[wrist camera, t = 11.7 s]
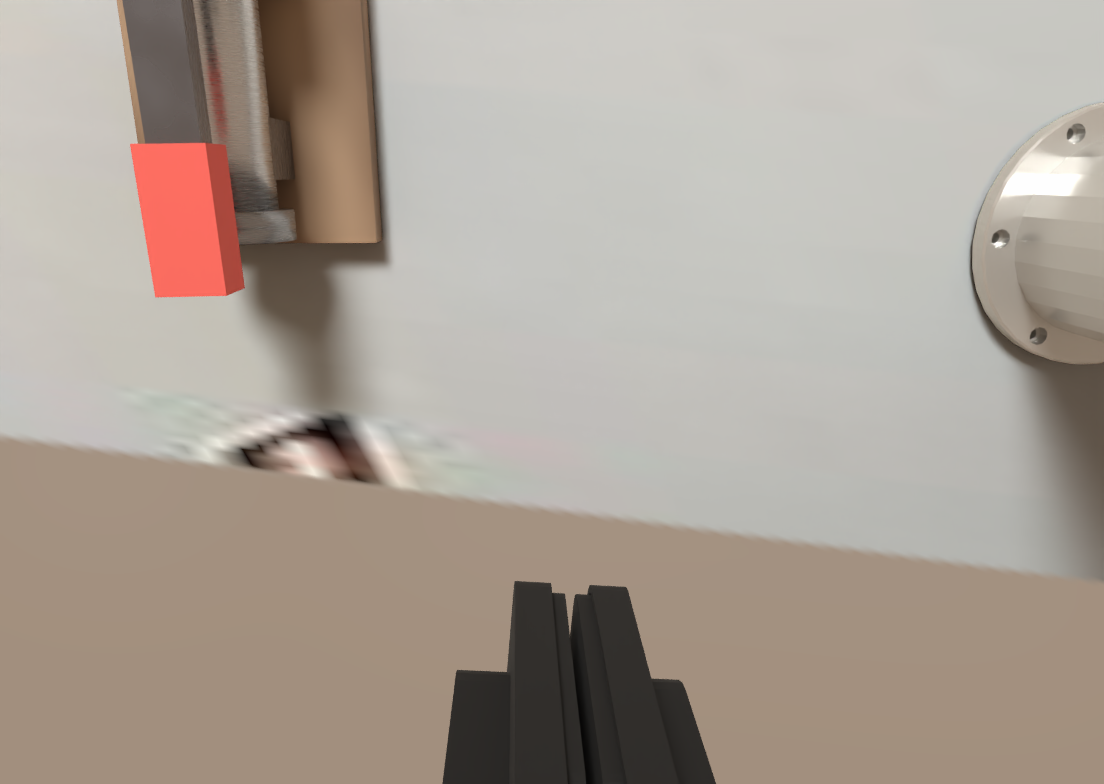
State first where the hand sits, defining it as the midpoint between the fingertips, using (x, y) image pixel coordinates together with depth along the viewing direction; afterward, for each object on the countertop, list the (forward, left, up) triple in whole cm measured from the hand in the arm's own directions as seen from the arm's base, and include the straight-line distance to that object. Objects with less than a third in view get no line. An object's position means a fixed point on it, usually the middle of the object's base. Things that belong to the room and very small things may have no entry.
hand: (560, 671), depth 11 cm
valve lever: (+12, -11, -18) cm, 24 cm away
